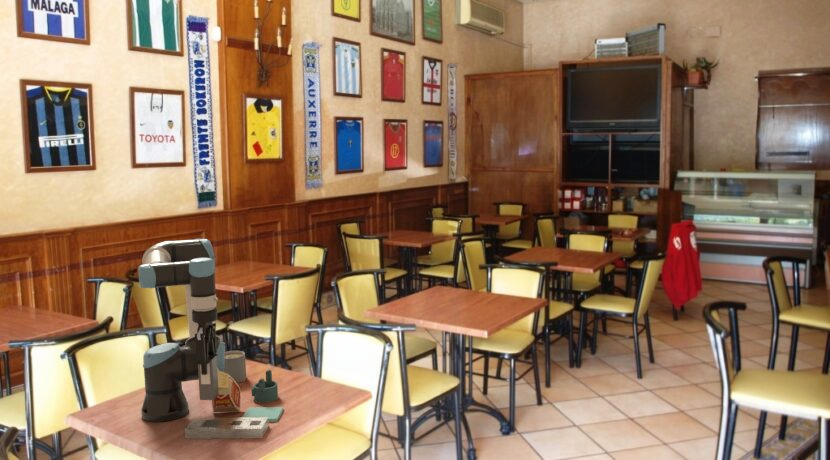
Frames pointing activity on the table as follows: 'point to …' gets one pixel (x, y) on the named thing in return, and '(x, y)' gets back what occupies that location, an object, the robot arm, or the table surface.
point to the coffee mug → (235, 365)
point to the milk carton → (227, 394)
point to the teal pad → (264, 412)
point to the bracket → (265, 389)
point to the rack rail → (226, 428)
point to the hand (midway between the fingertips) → (208, 380)
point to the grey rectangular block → (211, 389)
